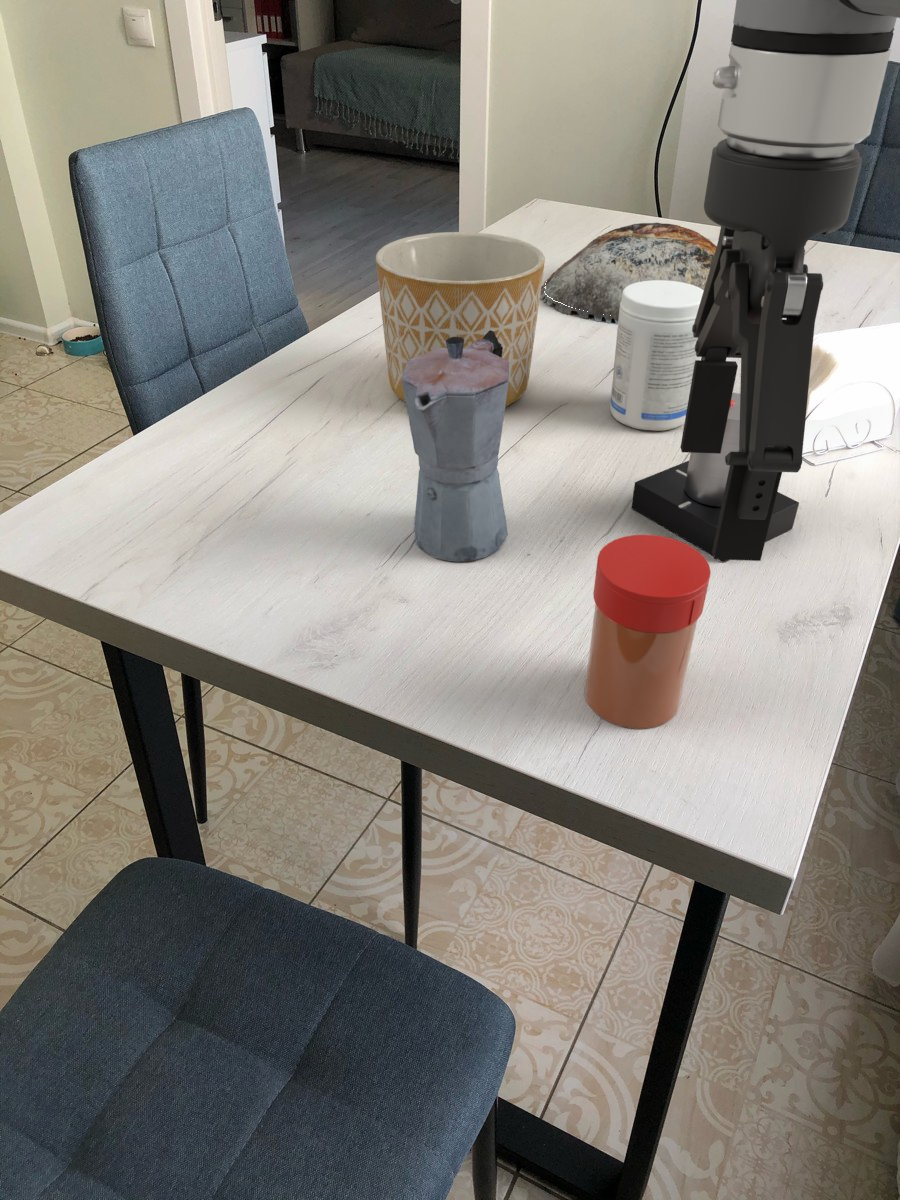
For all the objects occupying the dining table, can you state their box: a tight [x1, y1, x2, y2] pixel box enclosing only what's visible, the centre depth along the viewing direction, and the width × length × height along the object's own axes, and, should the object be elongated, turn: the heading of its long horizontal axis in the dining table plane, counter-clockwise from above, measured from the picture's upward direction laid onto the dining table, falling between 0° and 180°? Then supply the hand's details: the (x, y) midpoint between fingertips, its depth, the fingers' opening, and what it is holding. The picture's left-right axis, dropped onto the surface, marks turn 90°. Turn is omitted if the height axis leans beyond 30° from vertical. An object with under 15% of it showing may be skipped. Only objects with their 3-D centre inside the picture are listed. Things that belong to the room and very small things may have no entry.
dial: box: [685, 392, 740, 507], centre depth 88 cm, size 6×6×9 cm
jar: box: [584, 602, 698, 730], centre depth 68 cm, size 7×7×12 cm
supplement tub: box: [609, 280, 704, 432], centre depth 107 cm, size 10×10×15 cm
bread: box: [540, 222, 717, 325], centre depth 143 cm, size 27×32×10 cm
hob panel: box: [630, 460, 800, 563], centre depth 92 cm, size 12×10×3 cm
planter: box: [375, 231, 546, 408], centre depth 112 cm, size 19×19×16 cm
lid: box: [592, 534, 711, 633], centre depth 65 cm, size 8×8×3 cm
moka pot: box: [402, 330, 509, 563], centre depth 84 cm, size 10×15×20 cm, turn 157°
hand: (716, 499), depth 61 cm, fingers open, 13 cm apart
